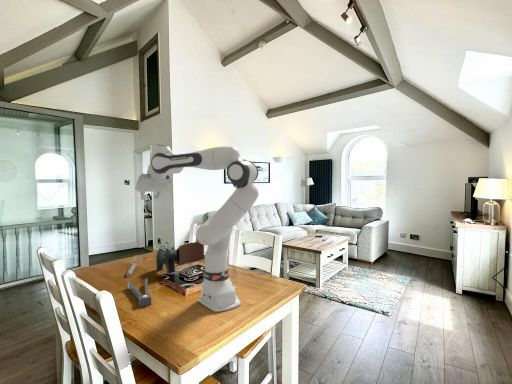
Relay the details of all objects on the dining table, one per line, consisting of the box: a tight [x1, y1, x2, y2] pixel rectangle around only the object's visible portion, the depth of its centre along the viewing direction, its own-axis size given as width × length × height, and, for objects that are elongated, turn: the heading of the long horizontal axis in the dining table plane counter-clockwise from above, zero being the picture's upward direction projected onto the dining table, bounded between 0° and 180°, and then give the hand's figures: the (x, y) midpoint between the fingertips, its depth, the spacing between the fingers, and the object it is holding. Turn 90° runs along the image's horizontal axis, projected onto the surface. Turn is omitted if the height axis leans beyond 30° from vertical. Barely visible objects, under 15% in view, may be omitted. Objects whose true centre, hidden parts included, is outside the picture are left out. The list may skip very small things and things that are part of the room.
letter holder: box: [174, 241, 205, 265], centre depth 194 cm, size 10×20×14 cm, turn 131°
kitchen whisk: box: [125, 254, 143, 278], centre depth 175 cm, size 6×34×6 cm, turn 14°
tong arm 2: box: [144, 278, 149, 295], centre depth 138 cm, size 22×1×3 cm, turn 23°
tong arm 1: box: [127, 281, 143, 300], centre depth 135 cm, size 22×1×3 cm, turn 39°
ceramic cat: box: [155, 241, 177, 273], centre depth 168 cm, size 20×6×20 cm, turn 46°
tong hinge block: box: [137, 293, 152, 308], centre depth 125 cm, size 4×5×4 cm
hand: (149, 199), depth 141 cm, fingers open, 8 cm apart
